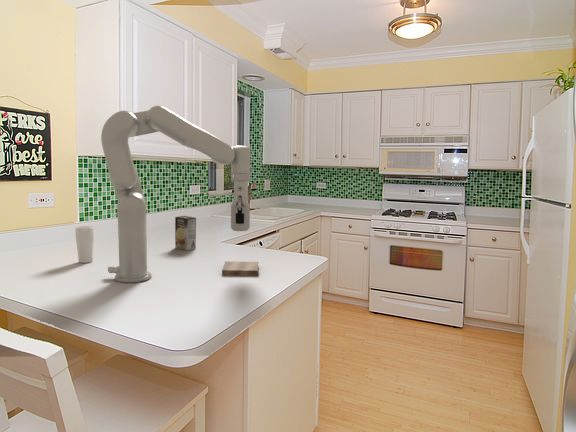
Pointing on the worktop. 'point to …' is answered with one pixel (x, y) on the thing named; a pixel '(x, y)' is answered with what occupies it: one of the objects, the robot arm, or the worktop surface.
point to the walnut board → (240, 268)
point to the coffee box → (185, 232)
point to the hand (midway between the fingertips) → (240, 221)
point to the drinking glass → (85, 243)
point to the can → (246, 218)
